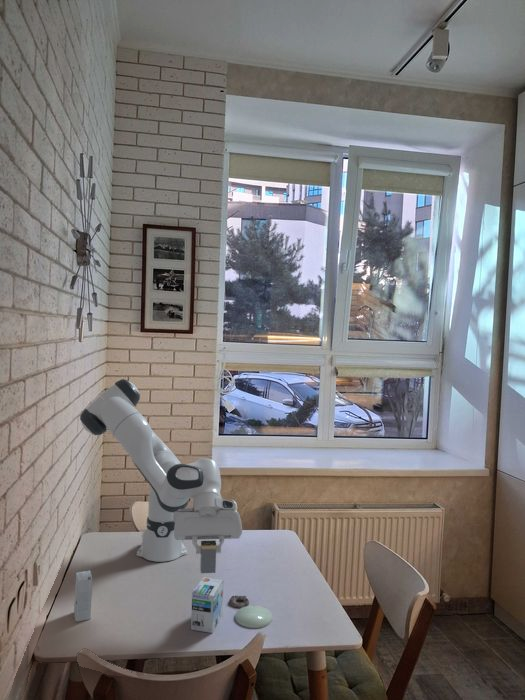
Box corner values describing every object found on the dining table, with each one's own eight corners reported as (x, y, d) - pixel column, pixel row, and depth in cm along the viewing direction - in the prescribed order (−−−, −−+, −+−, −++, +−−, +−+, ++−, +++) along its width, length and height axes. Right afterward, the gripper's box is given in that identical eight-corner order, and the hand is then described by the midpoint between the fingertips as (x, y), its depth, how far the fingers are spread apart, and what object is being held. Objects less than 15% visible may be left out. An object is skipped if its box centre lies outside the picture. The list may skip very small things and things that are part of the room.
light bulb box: (212, 634, 149) (214, 596, 149) (189, 630, 150) (191, 592, 150) (223, 614, 160) (224, 579, 159) (201, 611, 161) (202, 576, 161)
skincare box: (73, 612, 158) (74, 572, 157) (89, 609, 160) (90, 569, 159) (75, 622, 152) (76, 581, 152) (91, 619, 154) (93, 578, 154)
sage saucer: (233, 610, 163) (233, 606, 163) (268, 608, 165) (268, 604, 165) (237, 630, 152) (238, 626, 152) (275, 628, 154) (275, 623, 154)
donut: (255, 609, 164) (255, 603, 164) (231, 614, 161) (231, 607, 161) (245, 596, 172) (245, 590, 172) (222, 600, 169) (222, 594, 169)
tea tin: (200, 567, 156) (200, 540, 156) (214, 567, 157) (215, 540, 156) (200, 573, 152) (201, 545, 152) (215, 572, 153) (216, 545, 153)
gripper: (173, 504, 159) (172, 549, 150) (241, 502, 162) (244, 547, 153) (173, 513, 164) (171, 558, 154) (239, 512, 167) (241, 556, 158)
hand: (208, 552), depth 154 cm, fingers closed on tea tin, 4 cm apart
